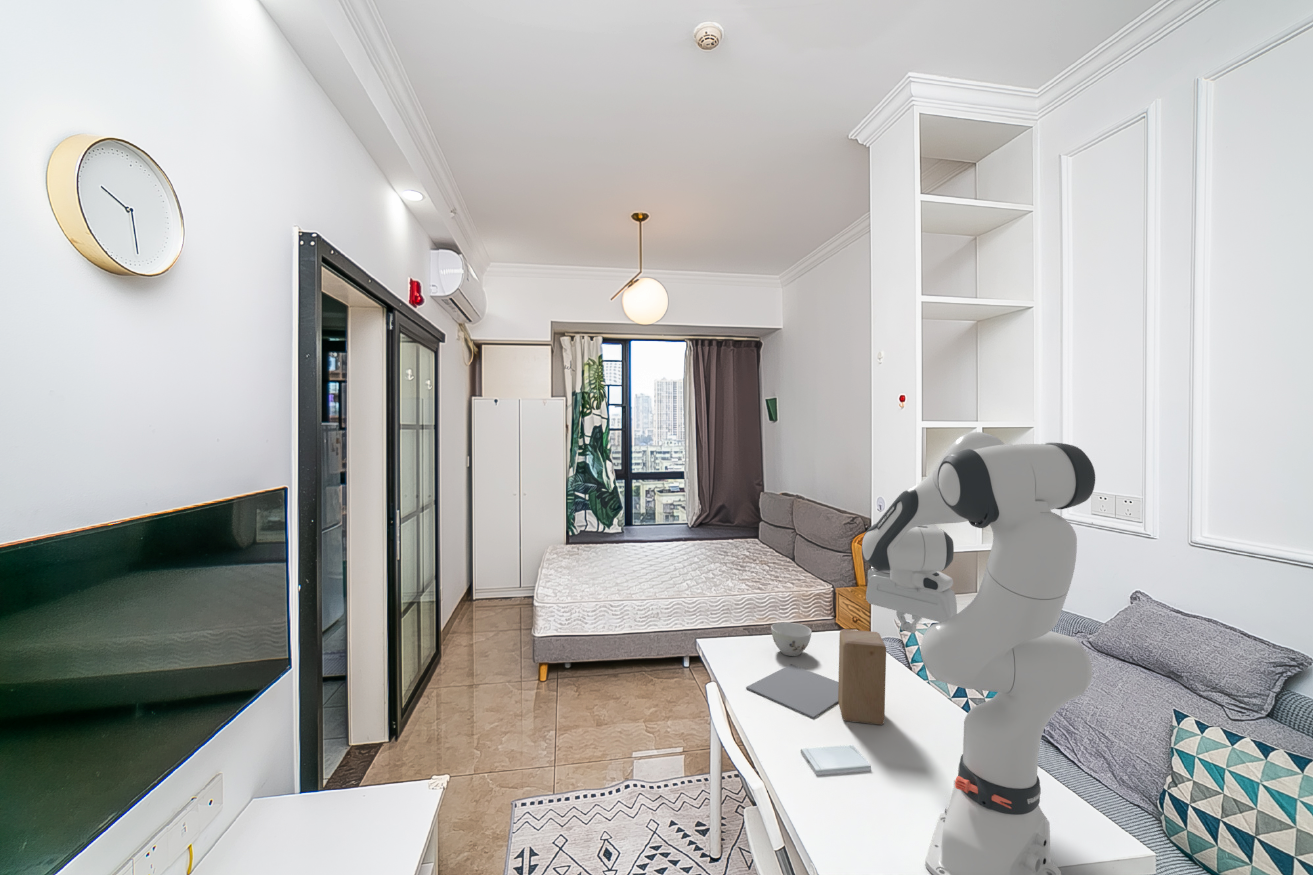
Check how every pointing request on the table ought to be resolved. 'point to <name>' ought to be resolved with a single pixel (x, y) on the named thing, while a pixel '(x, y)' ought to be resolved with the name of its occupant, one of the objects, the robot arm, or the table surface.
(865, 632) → the wooden block
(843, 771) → the hard drive
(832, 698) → the grey flat square slab
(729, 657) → the table surface
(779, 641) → the teacup
